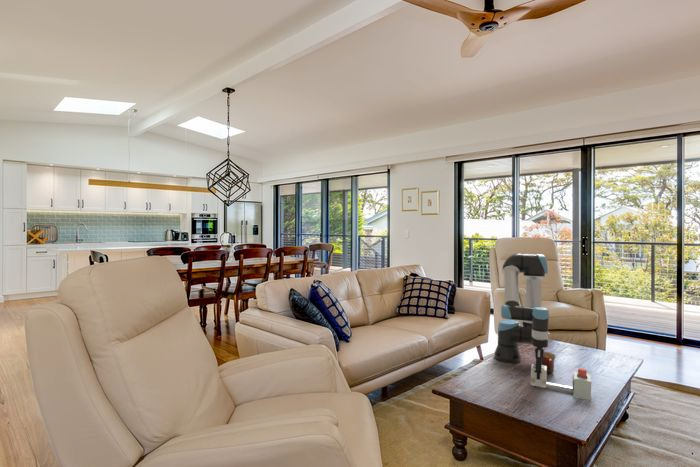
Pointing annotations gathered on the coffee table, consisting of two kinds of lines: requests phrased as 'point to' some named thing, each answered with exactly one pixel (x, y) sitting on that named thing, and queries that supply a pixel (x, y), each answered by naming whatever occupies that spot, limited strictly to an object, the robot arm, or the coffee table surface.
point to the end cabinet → (582, 386)
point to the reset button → (582, 372)
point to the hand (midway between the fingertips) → (538, 381)
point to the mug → (548, 362)
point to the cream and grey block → (543, 375)
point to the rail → (558, 387)
